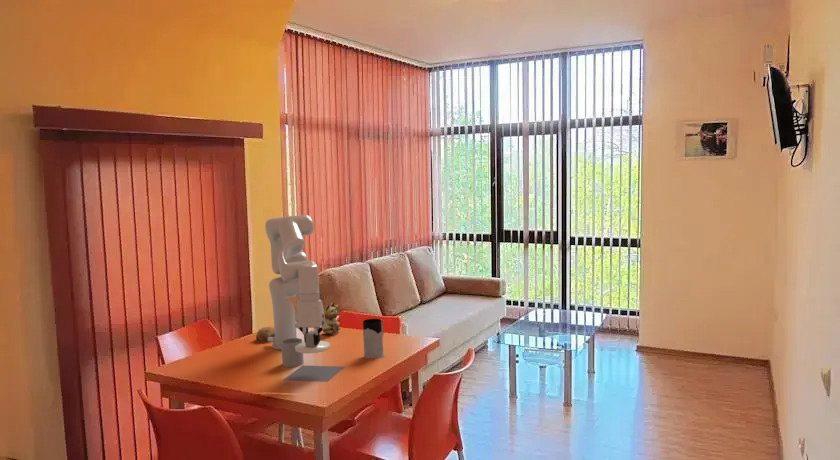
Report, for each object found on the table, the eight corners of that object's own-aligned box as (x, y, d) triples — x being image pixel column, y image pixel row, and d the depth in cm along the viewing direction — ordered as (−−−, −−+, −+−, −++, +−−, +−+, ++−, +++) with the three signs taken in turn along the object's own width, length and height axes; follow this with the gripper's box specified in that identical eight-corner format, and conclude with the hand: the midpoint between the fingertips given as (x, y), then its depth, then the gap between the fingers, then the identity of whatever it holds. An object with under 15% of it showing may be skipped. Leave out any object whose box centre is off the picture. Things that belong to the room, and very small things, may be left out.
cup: (306, 362, 258) (304, 338, 257) (300, 368, 250) (298, 343, 249) (286, 362, 259) (284, 338, 258) (279, 368, 250) (278, 343, 250)
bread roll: (256, 347, 299) (248, 334, 296) (272, 334, 305) (264, 321, 302) (267, 350, 292) (260, 337, 289) (284, 337, 299) (276, 323, 296)
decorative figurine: (333, 336, 297) (331, 305, 296) (317, 335, 300) (315, 304, 299) (342, 331, 306) (340, 301, 305) (327, 330, 309) (325, 300, 308)
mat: (282, 381, 233) (282, 380, 233) (302, 366, 251) (302, 365, 251) (327, 383, 229) (327, 381, 229) (345, 368, 247) (345, 366, 247)
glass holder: (359, 358, 259) (357, 322, 257) (375, 349, 271) (373, 315, 270) (378, 360, 255) (376, 323, 254) (394, 350, 268) (392, 315, 267)
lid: (289, 352, 235) (288, 337, 234) (303, 342, 248) (302, 327, 247) (321, 354, 232) (321, 338, 231) (334, 343, 245) (334, 328, 244)
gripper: (285, 298, 236) (288, 346, 238) (326, 299, 232) (328, 347, 234) (293, 294, 243) (296, 340, 245) (333, 294, 239) (336, 342, 241)
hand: (312, 343), depth 240 cm, fingers closed on lid, 3 cm apart
